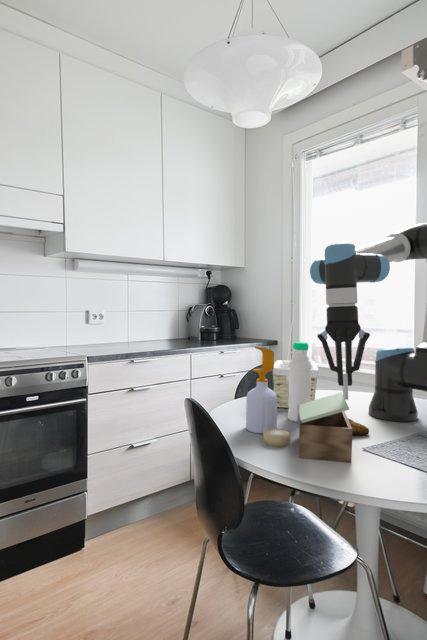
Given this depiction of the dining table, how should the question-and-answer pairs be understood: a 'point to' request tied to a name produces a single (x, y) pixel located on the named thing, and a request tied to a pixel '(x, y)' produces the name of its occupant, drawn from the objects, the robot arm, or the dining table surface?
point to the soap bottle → (262, 398)
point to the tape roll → (276, 437)
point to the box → (326, 438)
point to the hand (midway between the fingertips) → (345, 398)
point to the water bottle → (299, 379)
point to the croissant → (358, 428)
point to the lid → (321, 408)
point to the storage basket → (282, 381)
